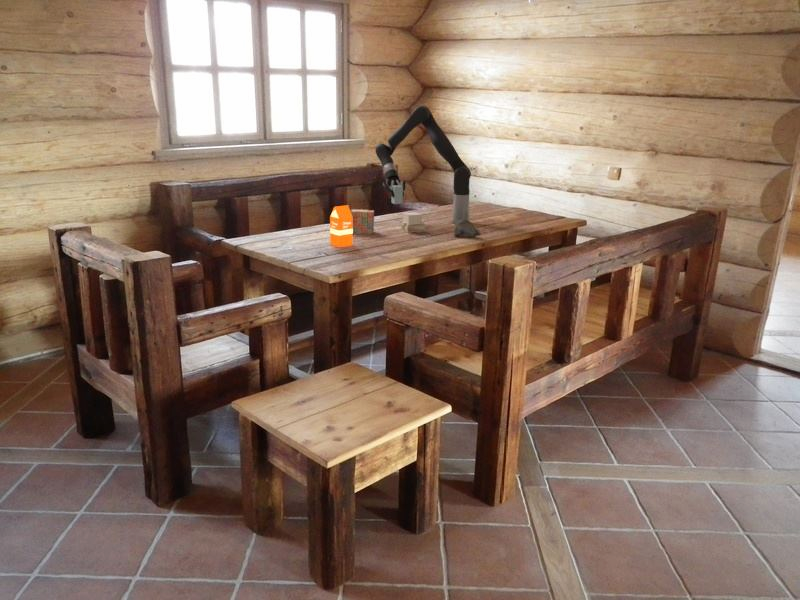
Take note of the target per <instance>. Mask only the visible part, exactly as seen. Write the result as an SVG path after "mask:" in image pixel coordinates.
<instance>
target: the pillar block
mask: <svg viewBox="0 0 800 600" xmlns="http://www.w3.org/2000/svg"><path fill="white" fill-rule="evenodd" d="M392 188H393V192H394V195H395V196H394V197H392V196H391V195H390V196H391V197H390V199H391V202H390V203H391V204H393V205H399V204H400V205H401V204H403V201H404V200H403V199H404V198H403V197H404V196H403V192H404V191H403V186H402V184H401V185H393V186H392Z"/></svg>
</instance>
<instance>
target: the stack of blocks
mask: <svg viewBox="0 0 800 600" xmlns="http://www.w3.org/2000/svg"><path fill="white" fill-rule="evenodd" d="M350 212H351V214H352V217H353V234H360V233H373V234H374V232H375V231H374V230H375V228H374V227H375V224H374V223H375V210H373V209H350ZM373 231H374V232H373Z"/></svg>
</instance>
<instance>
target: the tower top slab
mask: <svg viewBox="0 0 800 600" xmlns="http://www.w3.org/2000/svg"><path fill="white" fill-rule="evenodd" d="M402 217H403V218H402V221H403V222H405V223H407V224H420V223H423V214H421V213H419V212H417V211H413V212H412V211H411V212H403V215H402Z"/></svg>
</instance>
